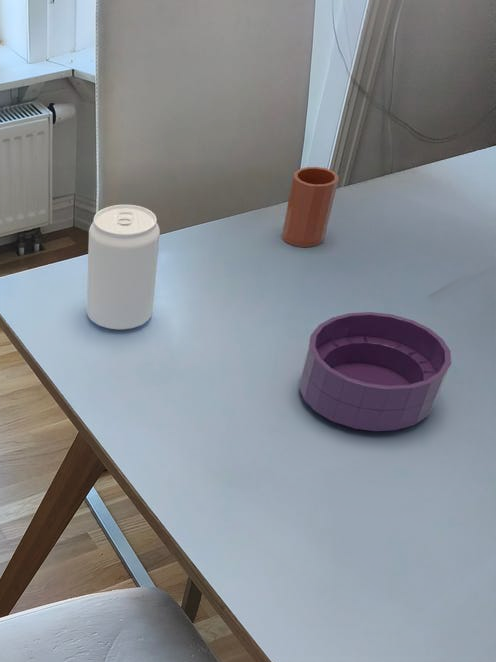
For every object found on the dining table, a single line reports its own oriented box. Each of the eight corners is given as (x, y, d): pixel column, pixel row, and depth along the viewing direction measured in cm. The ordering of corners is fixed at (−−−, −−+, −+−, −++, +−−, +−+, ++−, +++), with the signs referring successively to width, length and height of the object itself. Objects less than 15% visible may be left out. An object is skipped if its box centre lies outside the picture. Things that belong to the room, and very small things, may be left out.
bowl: (352, 345, 103) (366, 297, 99) (458, 400, 96) (479, 352, 91) (271, 393, 98) (281, 345, 93) (376, 455, 91) (394, 406, 86)
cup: (299, 223, 122) (312, 162, 116) (332, 238, 119) (347, 176, 113) (272, 236, 120) (284, 175, 114) (305, 251, 117) (319, 190, 111)
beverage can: (83, 332, 107) (86, 235, 98) (89, 297, 112) (92, 201, 103) (150, 335, 106) (159, 237, 97) (153, 299, 111) (162, 203, 102)
